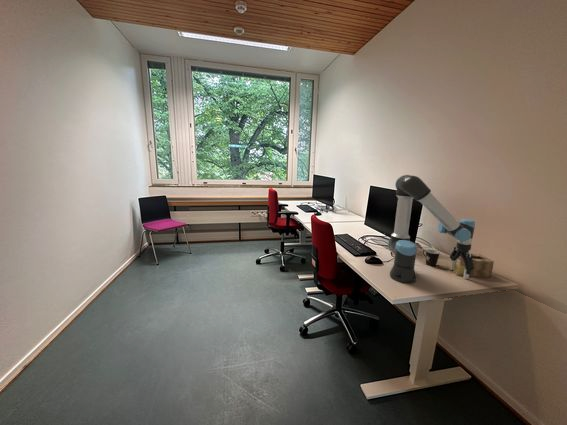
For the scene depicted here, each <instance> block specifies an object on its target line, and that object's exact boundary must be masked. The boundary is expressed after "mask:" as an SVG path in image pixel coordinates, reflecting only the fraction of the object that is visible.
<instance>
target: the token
mask: <svg viewBox="0 0 567 425" xmlns="http://www.w3.org/2000/svg"><path fill="white" fill-rule="evenodd" d="M465 268H466V267H465V266H463V265H460V264H456V265H455V267H454V270H453V274H455V276H464V271H465Z"/></svg>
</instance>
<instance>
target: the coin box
mask: <svg viewBox="0 0 567 425" xmlns="http://www.w3.org/2000/svg"><path fill="white" fill-rule="evenodd" d="M471 254H472V260H473V267H474V270H470V274H469V277H475V278H476V277H477V278H478V277H479V278H491V277H492V272H493V269H494V263H495V261H494V260H492V259H490V258H487V257H486V256H484V255H482V254H481V253H479V254H477V253H471ZM459 265H463V266H465V263H464V260H463V259H462V257H461V256H460V259H459ZM465 267H466V266H465Z"/></svg>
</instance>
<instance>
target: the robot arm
mask: <svg viewBox="0 0 567 425" xmlns="http://www.w3.org/2000/svg"><path fill="white" fill-rule="evenodd" d="M395 189H396V191H395V192H396V194H395V196H396V198H397V203H396V204H397V206H396V212H395V221H394V228H393V229H394V230H393V232H392V233H390V238H389V240H388V248H389V250H390V251H391V252H392V254H393V255H394V259H393V260H394V261H393V265H392V267H391V269H390V272H389V277H390V278H391V279H392V280H394V281H397V282H399V283H404V284H413V283H416V281H417V274H416V270H415V265H416V264H415V263H416V256H417V251H418V250H417V249H418V247H417V244H416V243H414V242H413V241H411V240H410V239H411V236H410V235H409V228H410V222H411V214H412V206H413V201H414V200H415V201H416V202H419V203H420V204H421V205H422V206H423V207H424V208H425V209H426V210H428V212H429V213H430V214H431V215H432V216H433V217H434V218H435V219H436V221H438V224H437V230H438V232H439V233H440V234H448V236H451V237H453V238H455V239H456V240H457V242H456V246H454V247H453V251H452V252H451V254H450V255H449V259H451V264H450V270H451V271H454V267H455V265H457V262H458V259H459V258H461V257H462V259H463V260H464V263H465V266H466V268H465V271H464V275H463V276H462V278H463V279H465V280H467V279H469V277H470V275H469V274H470V270H474V267H473V260H472V254H473V253H470V251H471V250H472V243H473V237H474V234H475V233H474V232H475V228H476V222H475V221H474V220H473V219H468V218H462V219H460V220H459V221H458V220H457V219H456V217H455V216H454V215H453V214H452V213H451V212H450V211H449V210H448V209H447V208H446V207H445V206H444V205H443V204H442V203H441V202H440V201H439V199H437V197H435V195H434V194H432V190H431V189H430V187H428V185H427V184H426V183H425V182H424V181H423V180H422V179H421V177H418V176H416V175H412V174H411V175H410V174H403V175H401V176H399V177H398V178H397V179H396V181H395Z"/></svg>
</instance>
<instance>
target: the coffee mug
mask: <svg viewBox="0 0 567 425" xmlns="http://www.w3.org/2000/svg"><path fill="white" fill-rule="evenodd" d="M422 254H423V256H424V257H425V265H427V267H428V266H429V267H436V266H437V264H438V260H439V257H440V251H438V250H435V249H424V250H423V251H422Z"/></svg>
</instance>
